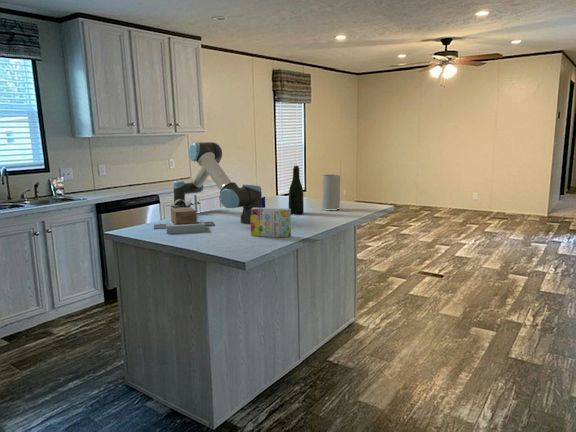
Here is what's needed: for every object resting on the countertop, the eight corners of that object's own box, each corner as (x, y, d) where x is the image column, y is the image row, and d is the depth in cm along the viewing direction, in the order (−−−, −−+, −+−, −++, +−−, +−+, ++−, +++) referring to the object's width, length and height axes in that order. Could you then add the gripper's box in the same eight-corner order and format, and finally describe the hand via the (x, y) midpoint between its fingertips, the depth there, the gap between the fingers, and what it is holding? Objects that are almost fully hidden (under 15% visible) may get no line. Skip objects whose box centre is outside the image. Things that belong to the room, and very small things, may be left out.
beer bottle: (285, 213, 305) (285, 165, 299) (297, 211, 311) (297, 165, 305) (294, 215, 296) (294, 166, 291) (306, 213, 303) (307, 165, 297)
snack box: (291, 235, 237) (291, 208, 234) (288, 238, 231) (288, 209, 229) (253, 233, 241) (253, 206, 239) (250, 236, 236) (249, 208, 233)
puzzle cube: (261, 212, 310) (261, 198, 308) (248, 211, 312) (247, 197, 310) (265, 209, 319) (265, 196, 318) (252, 209, 321) (251, 195, 320)
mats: (154, 225, 264) (154, 224, 264) (212, 222, 274) (212, 221, 274) (153, 229, 253) (153, 228, 253) (214, 225, 263) (214, 224, 263)
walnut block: (171, 222, 274) (170, 208, 272) (190, 220, 279) (190, 206, 277) (176, 227, 260) (175, 212, 258) (196, 225, 264) (196, 210, 263)
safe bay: (166, 228, 254) (166, 222, 253) (203, 226, 260) (202, 220, 259) (166, 233, 241) (166, 226, 241) (205, 231, 247) (205, 224, 246)
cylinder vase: (318, 209, 320) (319, 175, 316) (330, 207, 328) (330, 174, 324) (331, 211, 311) (332, 176, 307) (343, 209, 319) (343, 175, 315)
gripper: (190, 210, 300) (192, 216, 278) (170, 211, 297) (171, 217, 275) (189, 199, 299) (192, 204, 277) (170, 200, 296) (170, 205, 273)
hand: (181, 211), depth 276 cm, fingers closed
